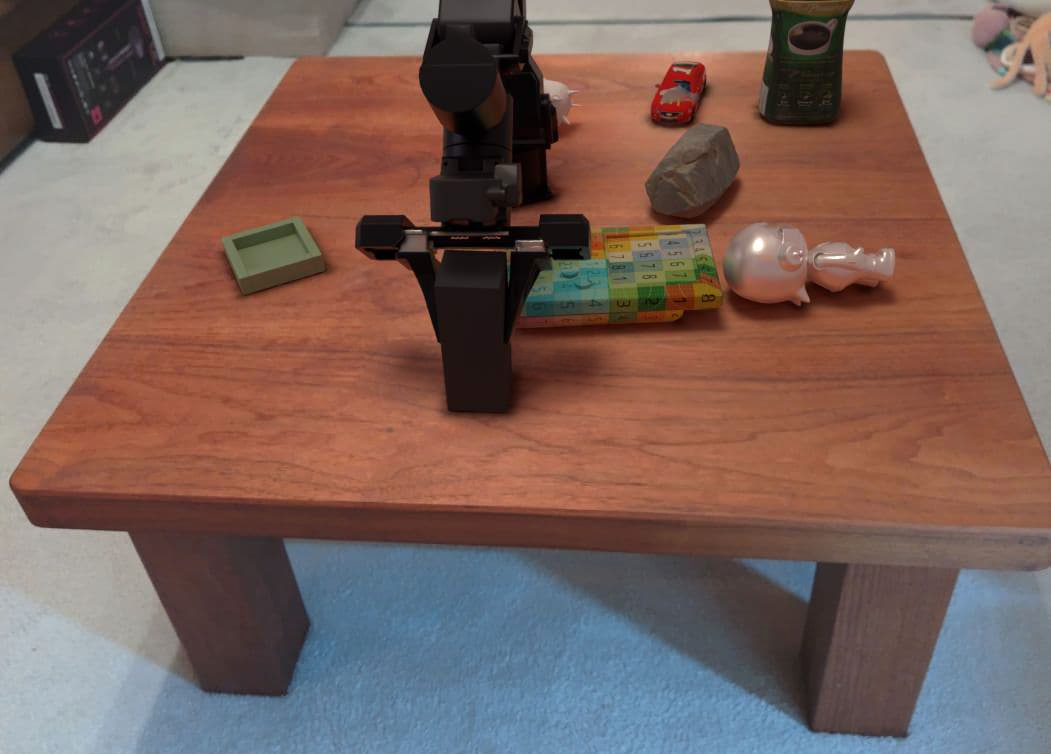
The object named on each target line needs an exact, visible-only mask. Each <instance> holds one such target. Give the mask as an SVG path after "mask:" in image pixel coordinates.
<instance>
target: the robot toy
mask: <svg viewBox="0 0 1051 754" xmlns="http://www.w3.org/2000/svg"><path fill="white" fill-rule="evenodd" d="M543 82H544V93H549V95H550V99H551V101H552V104H553V105H554V106H555V107H556V111H557V118H558V127H559V126H560V125H561V124H562V123H565V124H567V125H570V126H571V122H570V121H569V119H568V118H567V117H568V116H569V113H570V112H571V108H576V107H584V105H582V104H576V103H573V99H572V96H573V95H575V94H577V93H579V92H581V90H579V89H577V90H570V88H569V87H568V86H567V85H566V84H565V83H563V82H560V81H556V80H549V79H547V78H545V77H543ZM573 112H575V110H573Z"/></svg>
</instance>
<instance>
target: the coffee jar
mask: <svg viewBox="0 0 1051 754" xmlns="http://www.w3.org/2000/svg"><path fill="white" fill-rule="evenodd" d="M855 1H856V0H768V3H769V6H770V9H771V22H770V23H771V24H770V33H769V40H768V46H767V52H766V58H765V62H764V67H763V73H762V78H761V82H760V89H759V96H758V110H759V113H760V115H761V116H762V117H763V118H765V119H766V120H767V121H769V122H771V123H776V124H792V125H794V124H795V125H797V124H798V125H800V124H802V125H809V124H812V125H813V124H826V123H829V122H831V121H833V120H834V119H836V118H837V117H838V116H839V114H840V111H841V104H842V95H843V93H842V91H843V65H844V45H845V33H846V25H847V19H848V16H849V12H850V11H851V9H852V8H853V6H854V4H855Z"/></svg>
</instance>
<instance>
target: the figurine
mask: <svg viewBox="0 0 1051 754" xmlns="http://www.w3.org/2000/svg"><path fill="white" fill-rule="evenodd" d="M775 225H776V226H775ZM775 225H771V224H768V222H766V221H760V222H754V223H751V224H748V225H746V226H744V227H743V228H741V229H740V230H739V231H737V233H735V234H734V236H732V237H731V239H730V240H729V241H728V244H727V246H726V248H725V250H724V253H723V256H722V273H723V278H724V280H725V282H726V284H727V285H728V287H729V288H730V289H731V290H732V291H733V292H734V293H735V294H736V295H738V296H739V297H741V298H743V299H746V300H749V301H752V302H755V303H760V304H761V303H762V304H777V303H783V302H786V301H787V302H788V301H789V302H791V303H792V304H794V305H796V306H798V307H801V305H802V302H803V303H810V302H811V299H810V297H809V294H808V292H807V289H806V282H807V280H808V281H810V282H813V283H815V284H817V285H818V286H820V287H822V288H824V289H826V290H829V291H830V292H831V293H836V292H840V291H843V290H844V289H845V288H846V287H848V286H851V285H852V284H854V285H861V286H867V287H870V288H876V287H877V286H878V284H879V282H882V283H885V284H886V283H888V284H889V282H890V281H891V280H892V278H893V276H894V271H895V265H896V264H895V263H896V251H895V250H894V248H893V247H882V248H881V247H880V248H879V249H878V250H877V251H876V253H875V252H874V253H867V254H866V253H864V251H865V249H864V247H862V246H858V247H857V248H854V247H852V246H851V245H850V244H848V243H846V242H844V241H832V242H831V241H826V242H822V243H820V244H818V245H816V246H814V247H812V248H811V249H810V250H808V249H809V248H808V244H807V241H806V238H805V236H804V234H803V233H802V232H801V231H800V229H799V228H796V227H795V226H793V225H791V224H788V223H784V222H780V223H779V222H778V223H776V224H775Z"/></svg>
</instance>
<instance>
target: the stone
mask: <svg viewBox="0 0 1051 754" xmlns="http://www.w3.org/2000/svg"><path fill="white" fill-rule="evenodd" d="M740 167H741V161H740V157H739V154H738V152H737V150H736V145H735V144H734V141H733V138H732V136H731V134H730V131H729V129H728V128H727V127H726V126H723V125H718V124H712V123H711V124H710V123H703V122H701V123H699V124H696V125H694V126H692V127H690V128H689V129H687V130H686V131H685V132H684V133H683V134H682V135H681V136H680V137H679V138H678V139H677V141H676V142H675V143H674V144H673V145H672V146H671V148H670V149H669V150H668V151H667V152H666V154H665V155H664V156H663V158H662V159H661V160H660V161H659V163H658V164H657V166H656V167H655V169H654V170H653V171H652V172H651V174H650V176H649V177H648V178H647V180H646V181H645V183H644V187H645V191H646V195H647V197H648V199H649V202H650V205H651V206H652V208H653V210H655V211H656V212H657V213H658V214H659V213H660V214H663V215H667V216H673V217H679V218H684V219H685V218H686V219H694V218H697V217H698V216H701V215H702V214H704V213H706V212H707V211H708V210H709V209H710V208H711V207H712V206H714V205H715V204H716V203H717V202H718V201H719V200H720V198H722V196H723V195H724V194H725V192H726V191H727V189H728V188H729V187H730V186H731V184H732V183H733V181H735V178H736V176H737V174H738V172H740V171H739V170H740Z"/></svg>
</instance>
